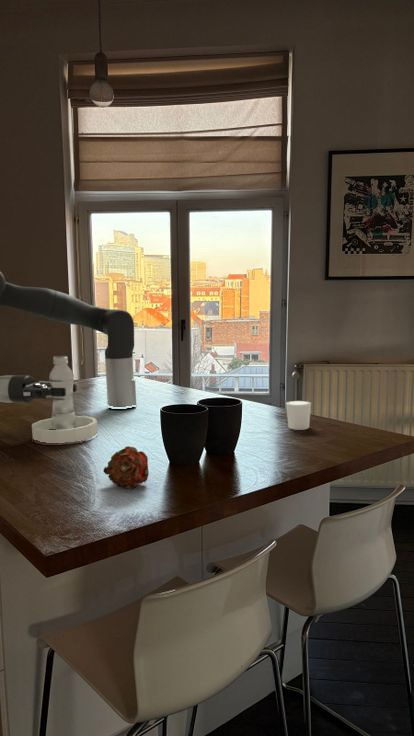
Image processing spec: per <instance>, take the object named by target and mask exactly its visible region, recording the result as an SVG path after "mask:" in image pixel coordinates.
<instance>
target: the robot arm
mask: <svg viewBox="0 0 414 736" xmlns="http://www.w3.org/2000/svg"><path fill="white" fill-rule="evenodd" d="M0 306H2V307H7V308H12V309H15V310H18V311H22V312H24V313H27V314H31V315H34V316H38V317H41V318H44V319H47V320H51V321H54V322H59V323H64V324H68V325H75V326H82V327H85V328H89V329H91V330H95V331H96V332H97V331H98V332H100V333H102V334H104V335H107V346H106V348H105V350H104V362H105V363H104V365H105V379H106V382H105V383H106V397H107V398H106V399H107V403H106V404H107V406H108V405H109V406H113V407H126V406H132V405H136V406H137V393H136V379H135V376H134V359H133V358H134V357H133V355H134V354H133V353H134V349H135V323H134V319H133V317H132V315H131V313H130V312H128V311H127V310H125V309H113V308H112V309H111V308H104V307H101V306H96V305H91V304H89V303H87V302H85V301H82V300H81V299H78V298H77V297H75V296H72V295H70V294H68V293H64V292H62V291H58V290H55V289H50V288H47V287H35V286H21V285H17V284H14V283H13V284H12V283H10V282H7V281H6V278H5V276H4V274H3V273H2V272H1V271H0ZM77 390H78V388H77V384H76V383H73V393H75V392H77ZM53 396H66V389H65V388H52V389H51V384H50V380H46V381H45V380H40V381H37V382H36V381H35V379H34V378H33V376H30V375H11V374H10V375H9V374H8V375H0V402H1V403H6V404H7V403H8V404H9V403H11V404H12V403H15V404H16V403H17V404H23V403H24V404H29V403H31V402H32V401H34V400H35V399H43V400H44V399H46V398H51V397H52V398H53Z"/></svg>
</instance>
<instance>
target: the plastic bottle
mask: <svg viewBox="0 0 414 736" xmlns="http://www.w3.org/2000/svg"><path fill="white" fill-rule="evenodd" d="M52 360H53V363H52V364H53V365H54V366H53V368H52V370H51V371H50V373H49V376H48V377H49V381H50V384H51V389H52V388H65V389H66V396H52V413H51V418H52V420H51V422H52V426H53V428H54V429H56V430H62V429H72V428H74V426H75V425H76V416H77V415H76V412H75V406H74V396H73V395H74V392H73V384H75V383H74V382H75V381H74V380H75V375H74V371H72V368H70V367H69V365H68V364H69V361H68V356H67V355H57V356H53V359H52Z"/></svg>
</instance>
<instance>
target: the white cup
mask: <svg viewBox="0 0 414 736" xmlns="http://www.w3.org/2000/svg"><path fill="white" fill-rule="evenodd" d="M285 406H286V415H287V425H288V428H289V429H291V430H295V431H296V430H298V431H300V430H301V431H302V430H303V431H304V430H307V429H309V428H310V421H311V420H310V419H311V407H312V402H311V401H309V400H291V401H287V402H285Z"/></svg>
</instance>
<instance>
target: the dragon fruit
mask: <svg viewBox="0 0 414 736" xmlns="http://www.w3.org/2000/svg"><path fill="white" fill-rule="evenodd" d="M148 461H149V459H148V455H146V453H145V452H144V451H138V449H137V448H136V447H134V446H130V445H129V446H125V447H124V448H122V449H120V450H119V451H116V452H115V453H113V455H112V456H111V457H110V461H108V462H107V466H105V467H104V468H103V473H104V474H105V475H107V476H108V479H109V480H110V481H111V482H112V483H113V484H114V485H116V486H118V487H122V488H124V489H130V490H133V489H135V488H136V487H137V486H138V485H141V484H143V483H144V484H145V483H146V482H147V480H148V478H149V474H150V473H149V464H148V463H149V462H148Z"/></svg>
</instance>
